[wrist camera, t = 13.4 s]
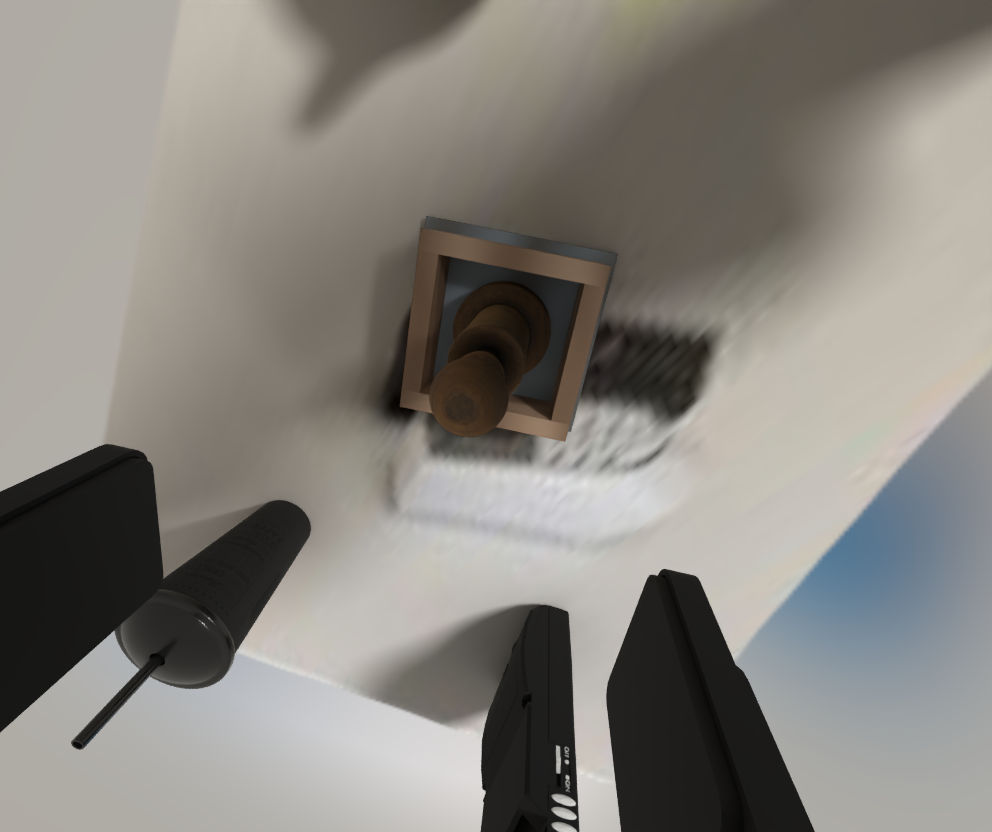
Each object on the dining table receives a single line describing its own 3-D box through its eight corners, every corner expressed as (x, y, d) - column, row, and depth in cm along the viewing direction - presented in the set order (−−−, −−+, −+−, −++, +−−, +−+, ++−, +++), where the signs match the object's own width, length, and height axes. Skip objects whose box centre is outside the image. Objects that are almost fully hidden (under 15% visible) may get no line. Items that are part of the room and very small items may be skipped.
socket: (616, 253, 32) (627, 255, 28) (570, 428, 36) (573, 453, 32) (428, 216, 32) (410, 212, 28) (406, 394, 37) (388, 414, 33)
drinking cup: (292, 472, 40) (73, 669, 22) (342, 541, 42) (180, 776, 24) (227, 505, 42) (-27, 713, 24) (277, 569, 44) (80, 809, 26)
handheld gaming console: (532, 698, 47) (522, 1004, 28) (488, 685, 47) (448, 981, 28) (573, 608, 42) (594, 897, 24) (525, 593, 42) (507, 870, 24)
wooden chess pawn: (470, 380, 35) (402, 503, 18) (447, 293, 33) (346, 340, 16) (558, 361, 34) (573, 473, 17) (539, 270, 32) (535, 295, 15)
